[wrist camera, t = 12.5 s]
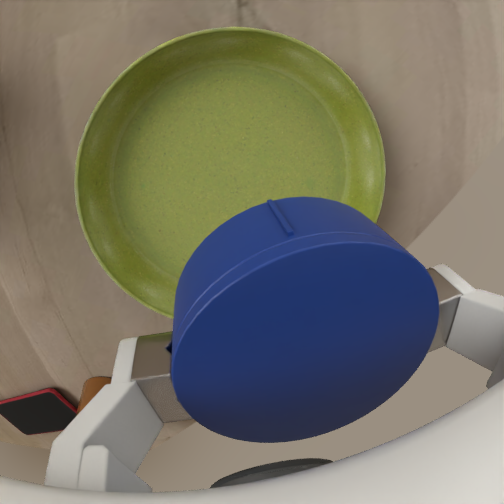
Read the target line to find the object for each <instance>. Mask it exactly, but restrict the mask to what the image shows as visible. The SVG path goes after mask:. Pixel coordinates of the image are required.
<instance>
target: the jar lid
mask: <svg viewBox="0 0 504 504" xmlns="http://www.w3.org/2000/svg"><path fill="white" fill-rule="evenodd" d="M438 319H439V298H438V293H437V289H436V286H435V284H434V281H433V279H432V277H431V275H430V274H429V272H428V271H427V270H426V268H425V267H424V266H423V265H422V264H421V263H420V262H419V261H418V260H417V259H416V258H414V257H413V256H412V255H411V254H410V253H409V252H408V251H407V250H405V249H404V248H403V247H402V246H401V245H400V244H399V243H397V242H396V241H395V240H394V239H393V238H392V237H390V236H389V235H388V234H387V233H386V232H384V231H383V230H382V229H381V228H380V227H378V226H377V225H376V224H375V223H374V222H372V221H371V220H370V219H369V218H367V217H366V216H365V215H364V214H362V213H361V212H359V211H357V210H356V209H354V208H352V207H351V206H348V205H346V204H343V203H340V202H338V201H334V200H330V199H325V198H319V197H290V198H283V199H278V200H273V201H272V200H271V199H270V200H267V202H266V203H263V204H260V205H257V206H254V207H251V208H249V209H247V210H245V211H243V212H241V213H239V214H237V215H235V216H234V217H232V218H230V219H229V220H227V221H226V222H224V223H223V224H221V225H220V226H219V227H218V228H216V229H215V230H214V231H213V232H212V233H211V234H210V235H208V236H207V237H206V238H205V239H204V240H203V242H202V243H201V244H200V245H199V246H198V247H197V248H196V250H195V251H194V252H193V254H192V255H191V257H190V258H189V260H188V262H187V263H186V265H185V267H184V269H183V271H182V274H181V276H180V278H179V282H178V285H177V289H176V294H175V304H174V319H173V338H172V362H171V376H172V384H173V388H174V391H175V394H176V396H177V398H178V400H179V402H180V403H181V405H182V407H183V408H184V409H185V411H186V412H187V413H188V414H189V415H190V416H191V417H192V418H193V419H194V420H196V421H197V422H198V423H199V424H201V425H202V426H204V427H206V428H207V429H209V430H211V431H213V432H216V433H218V434H220V435H223V436H226V437H230V438H233V439H237V440H243V441H249V442H260V443H262V442H263V443H275V442H288V441H295V440H301V439H306V438H310V437H314V436H318V435H321V434H325V433H328V432H330V431H333V430H336V429H338V428H341V427H343V426H345V425H347V424H349V423H352V422H354V421H356V420H357V419H359V418H361V417H363V416H365V415H366V414H368V413H369V412H371V411H373V410H374V409H376V408H377V407H378V406H380V405H381V404H382V403H384V402H385V401H386V400H388V399H389V398H390V397H391V396H392V395H393V394H395V393H396V392H397V391H398V390H399V389H400V388H401V387H402V386H403V385H404V384H405V383H406V382H407V381H408V380H409V379H410V377H411V376H412V375H413V373H414V372H415V371H416V370H417V368H418V367H419V366H420V364H421V363H422V361H423V360H424V358H425V356H426V354H427V352H428V350H429V349H430V346H431V344H432V342H433V339H434V337H435V333H436V329H437V326H438Z"/></svg>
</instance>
